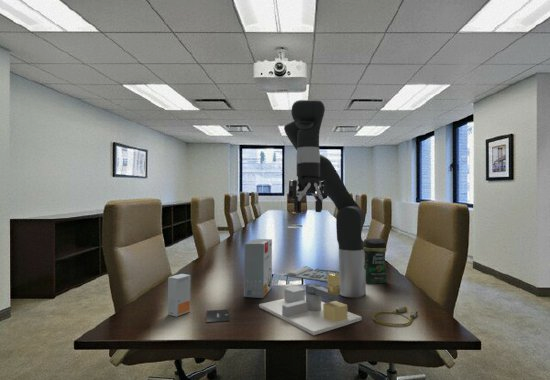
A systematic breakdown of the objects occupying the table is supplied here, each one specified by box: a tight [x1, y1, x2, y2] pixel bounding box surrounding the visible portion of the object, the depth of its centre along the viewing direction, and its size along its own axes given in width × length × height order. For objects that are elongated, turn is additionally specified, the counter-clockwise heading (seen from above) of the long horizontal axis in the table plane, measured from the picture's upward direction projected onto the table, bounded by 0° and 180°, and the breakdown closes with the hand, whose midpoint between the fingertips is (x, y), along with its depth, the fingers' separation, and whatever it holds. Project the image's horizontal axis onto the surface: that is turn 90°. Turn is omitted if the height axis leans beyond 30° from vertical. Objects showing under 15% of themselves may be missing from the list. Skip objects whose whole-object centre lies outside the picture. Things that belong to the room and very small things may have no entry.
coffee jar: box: [363, 238, 388, 284], centre depth 147 cm, size 10×8×19 cm
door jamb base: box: [258, 286, 363, 336], centre depth 108 cm, size 19×28×6 cm
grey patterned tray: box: [284, 266, 339, 283], centre depth 160 cm, size 23×3×20 cm
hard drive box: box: [243, 238, 273, 299], centre depth 132 cm, size 16×8×20 cm, turn 168°
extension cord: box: [372, 305, 419, 327], centre depth 104 cm, size 12×16×2 cm
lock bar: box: [305, 272, 340, 302], centre depth 106 cm, size 14×5×8 cm, turn 31°
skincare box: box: [167, 273, 192, 317], centre depth 109 cm, size 6×4×12 cm
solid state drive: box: [205, 308, 231, 324], centre depth 106 cm, size 7×10×1 cm
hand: (308, 212), depth 109 cm, fingers open, 8 cm apart
